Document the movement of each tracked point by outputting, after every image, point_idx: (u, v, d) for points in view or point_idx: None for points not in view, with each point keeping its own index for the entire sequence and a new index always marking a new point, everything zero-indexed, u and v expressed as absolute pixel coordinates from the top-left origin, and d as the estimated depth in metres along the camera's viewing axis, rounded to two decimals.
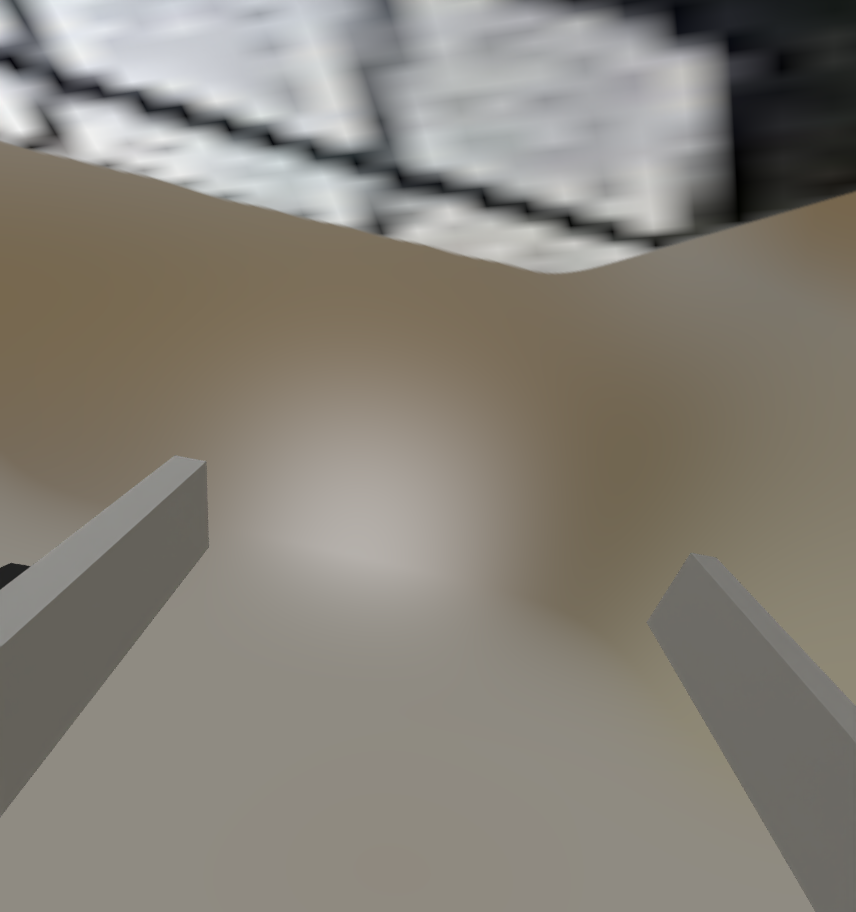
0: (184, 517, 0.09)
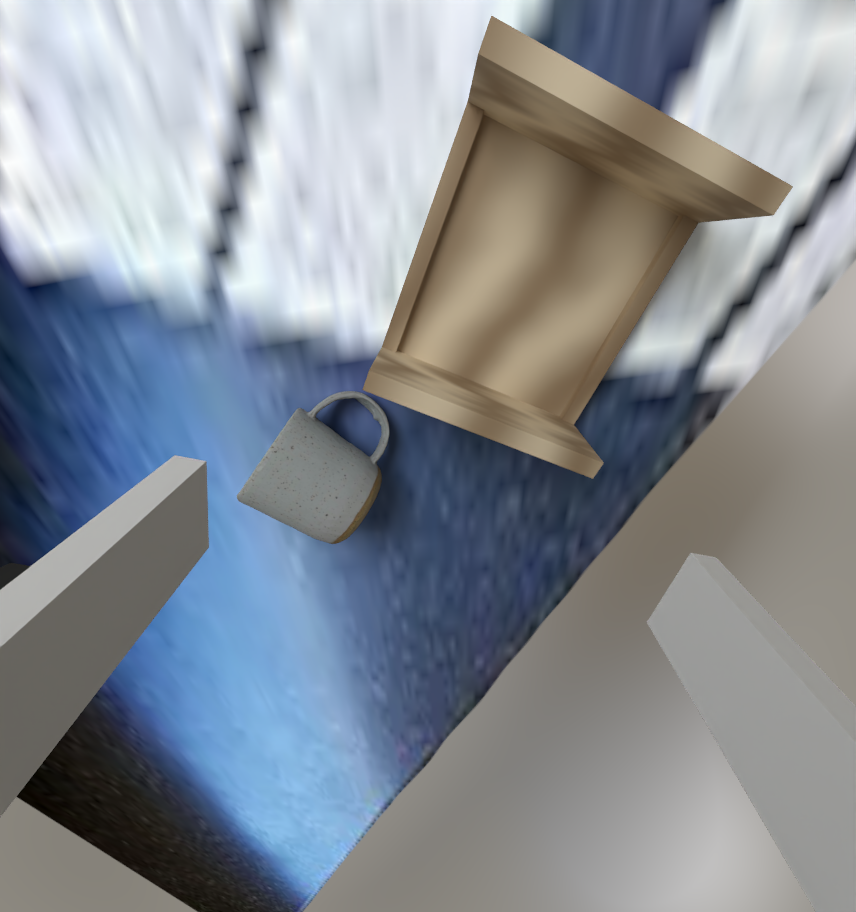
0: (184, 517, 0.09)
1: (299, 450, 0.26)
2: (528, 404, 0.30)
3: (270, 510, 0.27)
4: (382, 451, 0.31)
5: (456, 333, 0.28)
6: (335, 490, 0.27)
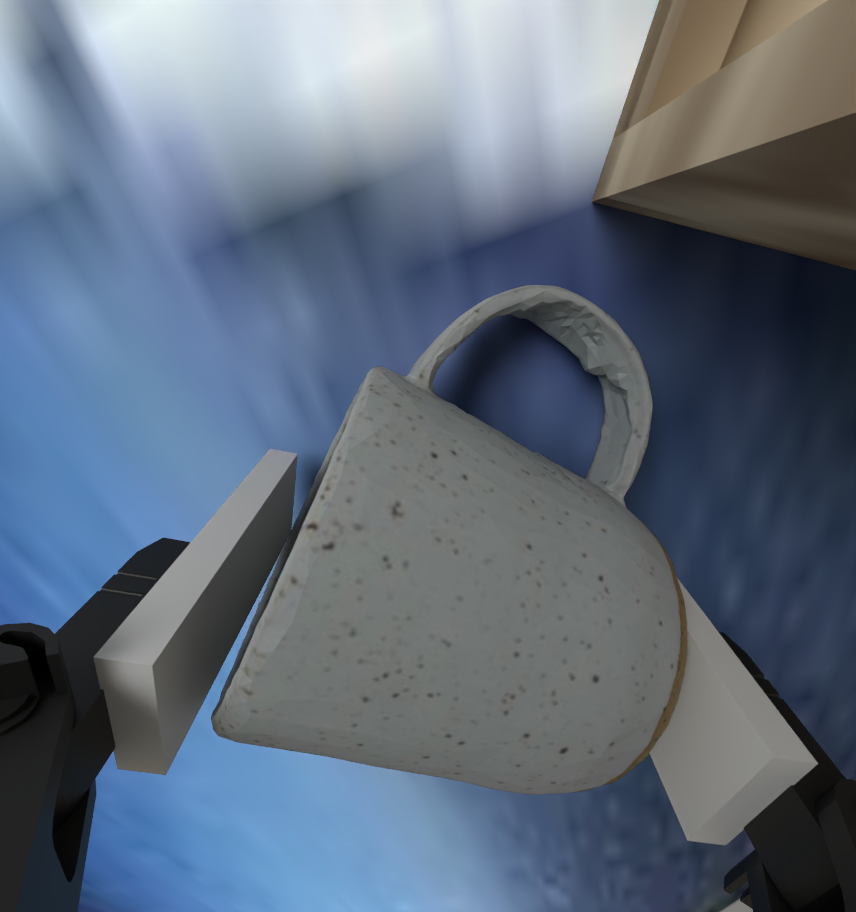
0: (282, 502, 0.11)
1: (425, 514, 0.06)
2: None
3: None
4: (639, 462, 0.10)
5: None
6: (587, 648, 0.07)
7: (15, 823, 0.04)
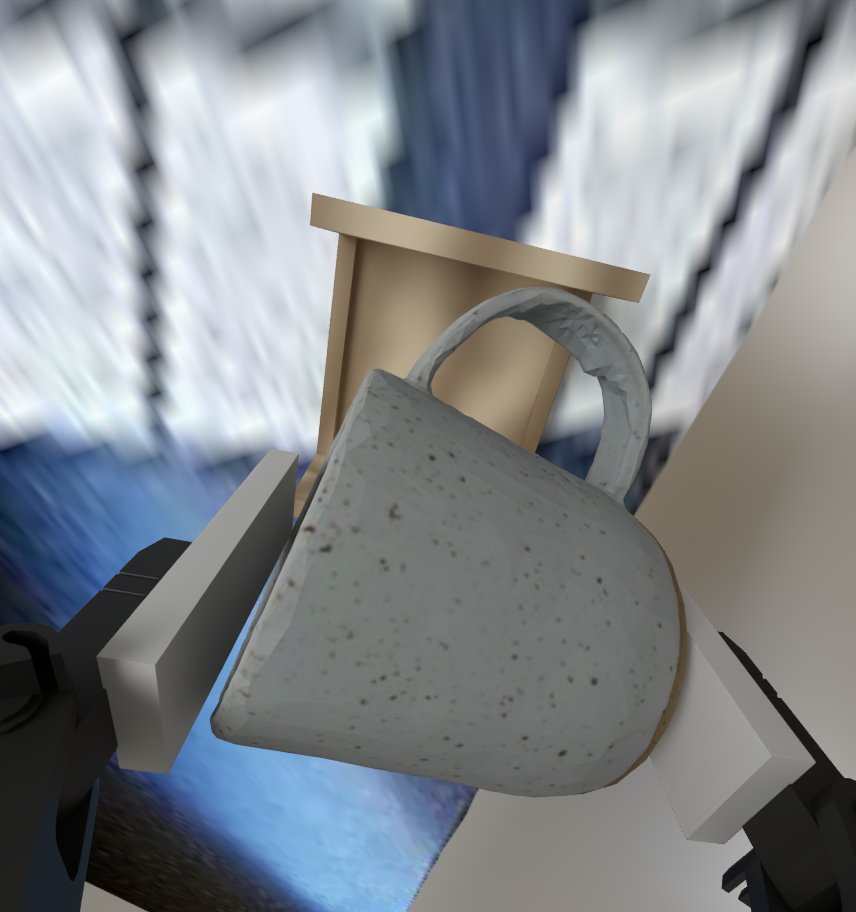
0: (284, 502, 0.11)
1: (423, 517, 0.06)
2: None
3: None
4: (638, 463, 0.10)
5: None
6: (585, 651, 0.07)
7: (19, 822, 0.04)
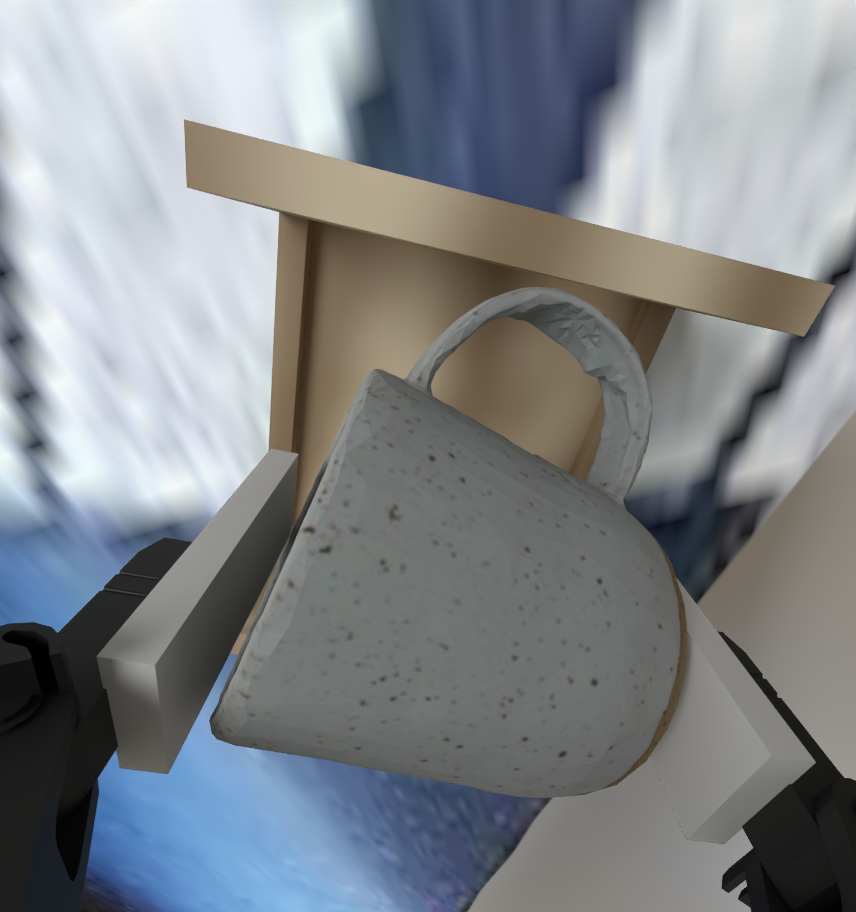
0: (283, 502, 0.11)
1: (423, 517, 0.06)
2: None
3: None
4: (638, 464, 0.10)
5: None
6: (585, 651, 0.07)
7: (18, 822, 0.04)
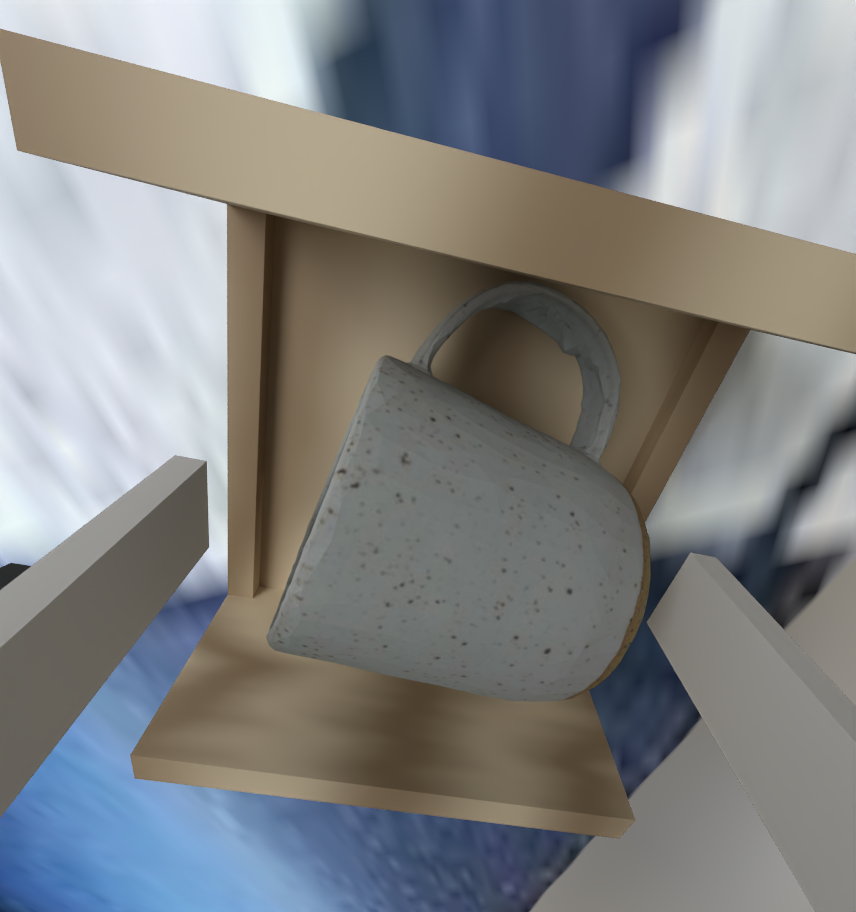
0: (184, 517, 0.09)
1: (427, 463, 0.08)
2: None
3: (371, 665, 0.09)
4: (611, 427, 0.12)
5: None
6: (561, 567, 0.08)
7: None
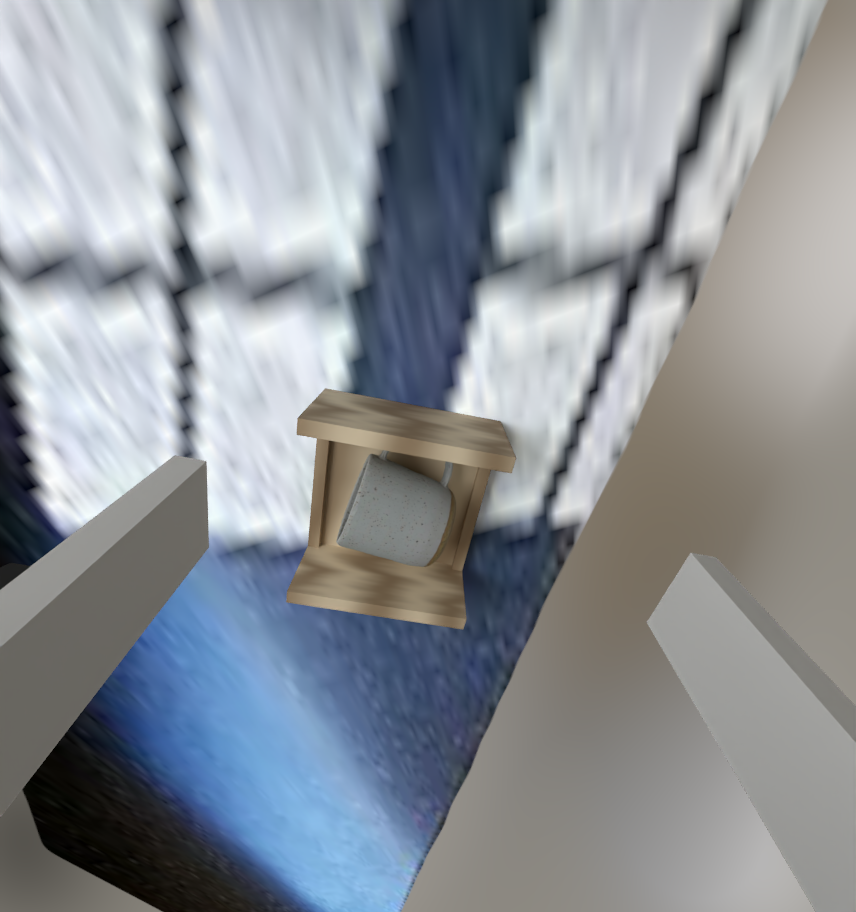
0: (184, 517, 0.09)
1: (381, 489, 0.30)
2: None
3: (368, 547, 0.31)
4: (450, 474, 0.34)
5: None
6: (420, 517, 0.30)
7: None
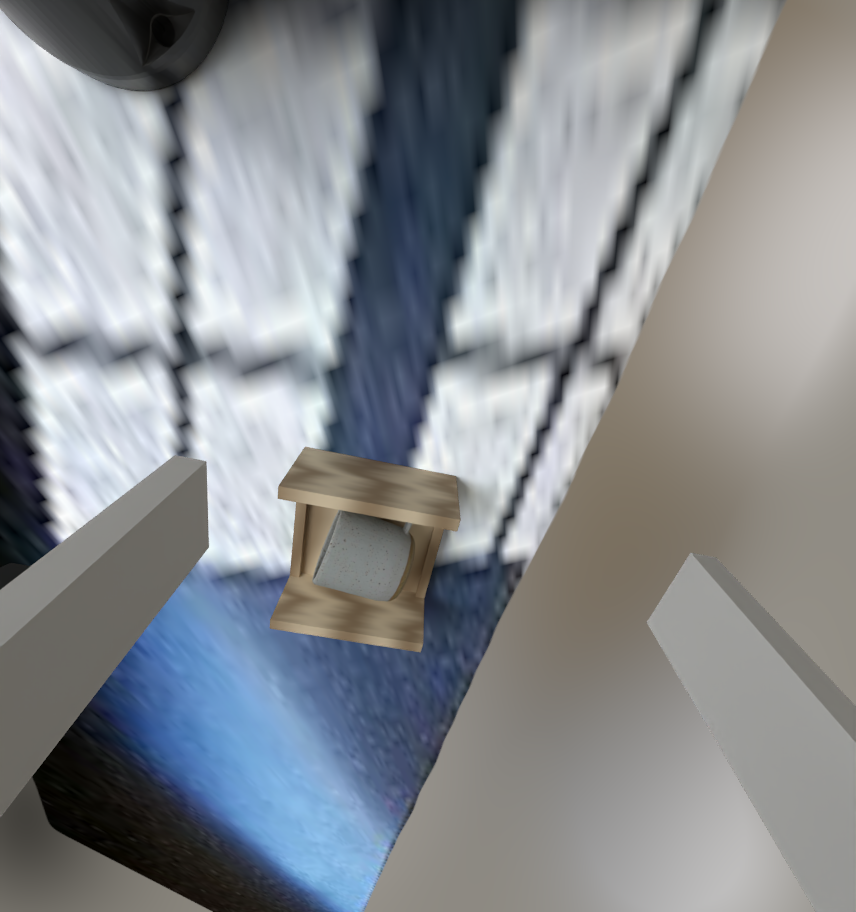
0: (184, 517, 0.09)
1: (350, 540, 0.36)
2: None
3: (338, 587, 0.37)
4: (411, 523, 0.39)
5: None
6: (382, 563, 0.36)
7: None
